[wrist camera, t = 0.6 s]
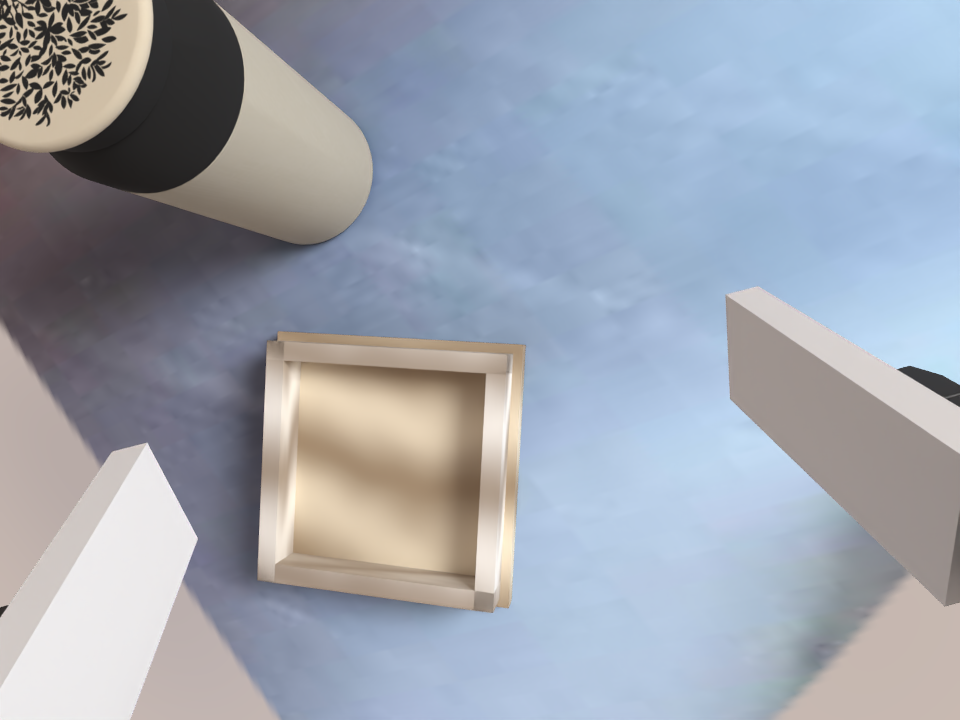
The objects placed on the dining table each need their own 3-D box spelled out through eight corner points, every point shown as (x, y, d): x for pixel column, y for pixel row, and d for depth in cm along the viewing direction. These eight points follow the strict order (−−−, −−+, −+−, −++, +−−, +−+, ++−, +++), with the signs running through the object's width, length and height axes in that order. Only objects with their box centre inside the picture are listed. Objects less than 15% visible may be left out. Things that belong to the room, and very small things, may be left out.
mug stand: (286, 331, 38) (258, 330, 35) (525, 344, 35) (517, 345, 32) (276, 569, 38) (248, 588, 35) (511, 600, 35) (502, 624, 32)
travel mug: (398, 202, 36) (195, 67, 19) (282, 270, 38) (-9, 205, 20) (337, 78, 37) (82, -167, 19) (224, 150, 38) (-108, -15, 21)
